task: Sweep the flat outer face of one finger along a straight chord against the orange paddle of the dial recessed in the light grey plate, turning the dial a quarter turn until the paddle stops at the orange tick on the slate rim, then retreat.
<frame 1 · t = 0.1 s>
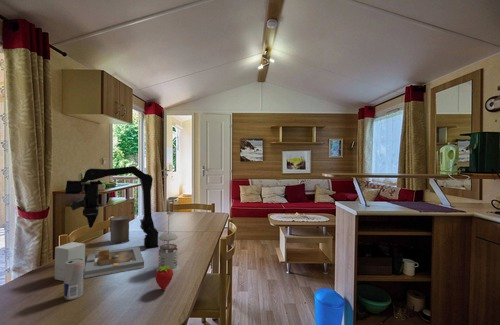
hand: (90, 225, 123), 15 cm above the table, fingers open, 9 cm apart
supplement box: (70, 277, 100), on the table
strawberry: (164, 290, 91), on the table
dial plate: (115, 263, 114), on the table
energy drink: (73, 296, 86), on the table
dial: (115, 254, 114), point 4 cm above the table, hinge at 0.0°
french press: (167, 268, 110), on the table
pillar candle: (119, 241, 145), on the table
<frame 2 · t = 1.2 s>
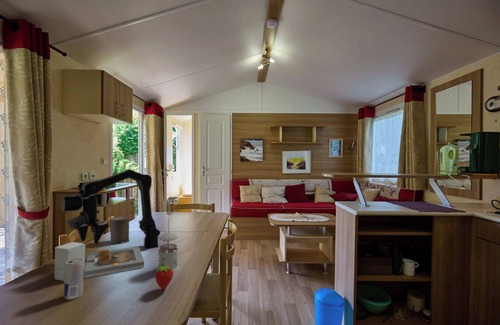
hand: (89, 242, 115), 9 cm above the table, fingers open, 9 cm apart
nothing on the table moved.
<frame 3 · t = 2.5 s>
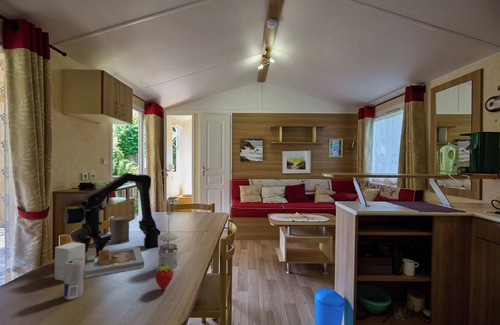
hand: (91, 254, 114), 3 cm above the table, fingers open, 9 cm apart
dial: (115, 254, 114), point 4 cm above the table, hinge at 0.1°, touching gripper
everything else where it was.
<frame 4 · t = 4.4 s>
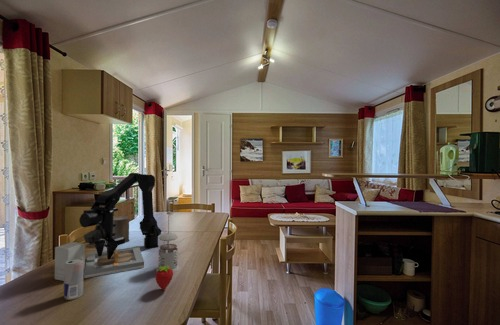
hand: (104, 257, 110), 4 cm above the table, fingers open, 6 cm apart
dial: (115, 254, 114), point 4 cm above the table, hinge at 93.1°, touching gripper
everything else where it was.
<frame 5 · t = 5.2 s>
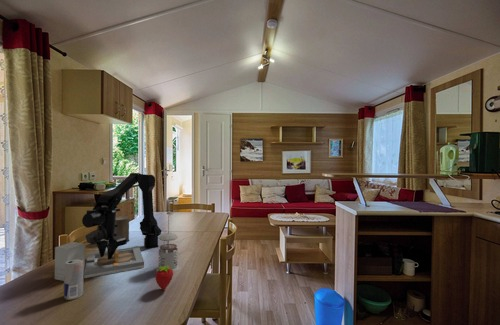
hand: (105, 258, 110), 4 cm above the table, fingers open, 5 cm apart
dial: (115, 254, 114), point 4 cm above the table, hinge at 93.9°, touching gripper
everything else where it was.
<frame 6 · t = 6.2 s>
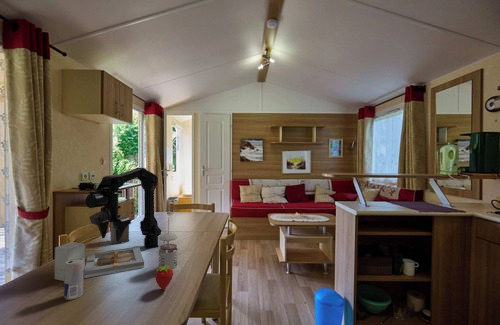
hand: (110, 239, 111), 12 cm above the table, fingers open, 9 cm apart
dial: (115, 254, 114), point 4 cm above the table, hinge at 92.1°
everything else where it was.
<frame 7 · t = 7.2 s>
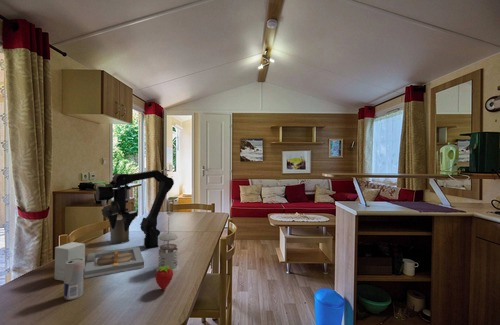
hand: (119, 230, 125), 12 cm above the table, fingers open, 9 cm apart
nothing on the table moved.
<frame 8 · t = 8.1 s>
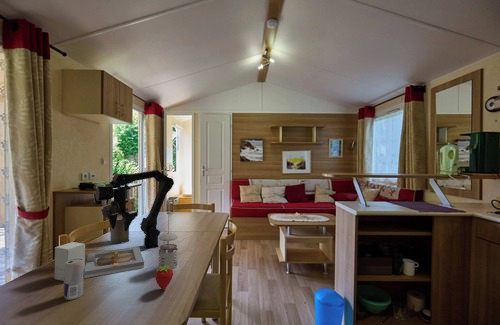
hand: (119, 229, 125), 12 cm above the table, fingers open, 9 cm apart
nothing on the table moved.
at the end: dial at +92° (first picture: +0°) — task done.
